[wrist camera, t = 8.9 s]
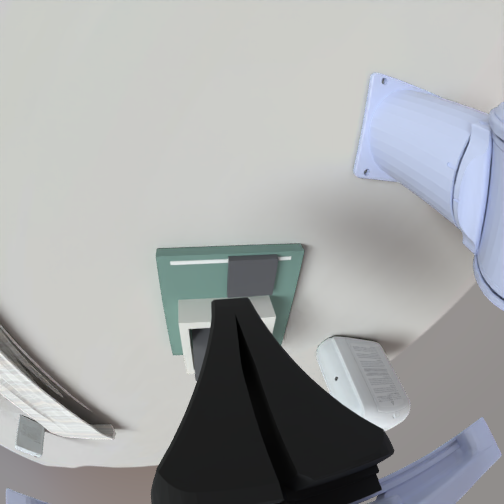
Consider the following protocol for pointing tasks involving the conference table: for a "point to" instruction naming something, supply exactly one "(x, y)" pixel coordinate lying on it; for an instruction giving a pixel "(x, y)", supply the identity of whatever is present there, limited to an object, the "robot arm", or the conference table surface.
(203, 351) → the plug
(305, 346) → the conference table surface
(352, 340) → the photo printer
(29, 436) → the skincare box
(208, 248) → the board
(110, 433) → the white keyboard
